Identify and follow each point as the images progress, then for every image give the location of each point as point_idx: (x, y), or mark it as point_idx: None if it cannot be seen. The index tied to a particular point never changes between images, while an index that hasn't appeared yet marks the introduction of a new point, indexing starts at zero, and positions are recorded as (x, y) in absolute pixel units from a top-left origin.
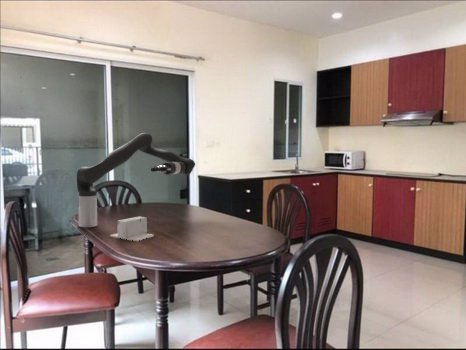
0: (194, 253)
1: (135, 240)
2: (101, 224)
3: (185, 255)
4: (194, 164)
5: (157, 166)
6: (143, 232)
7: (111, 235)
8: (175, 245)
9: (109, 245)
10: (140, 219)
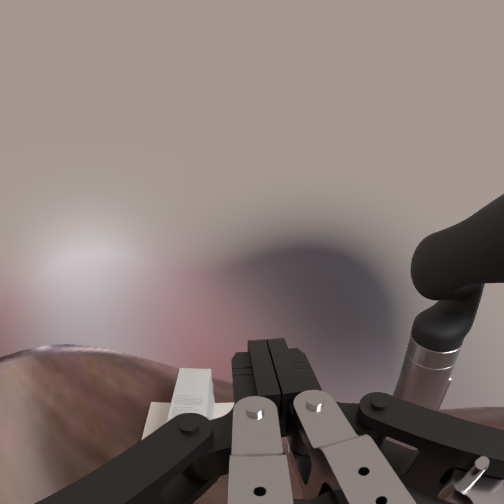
0: (23, 379)
1: (156, 403)
2: None
3: (35, 370)
4: None
5: (352, 437)
6: None
7: None
8: (59, 406)
9: None
10: (170, 407)
